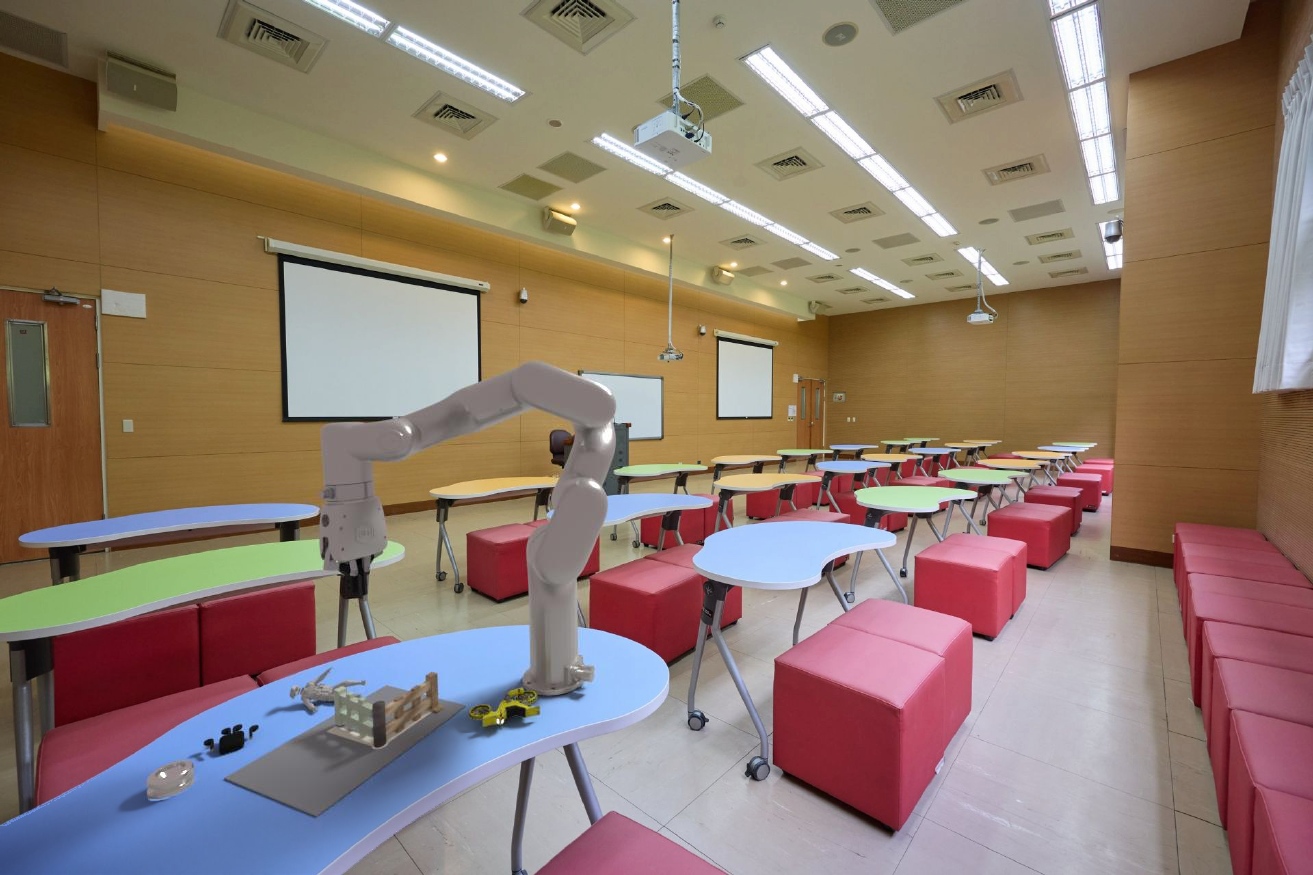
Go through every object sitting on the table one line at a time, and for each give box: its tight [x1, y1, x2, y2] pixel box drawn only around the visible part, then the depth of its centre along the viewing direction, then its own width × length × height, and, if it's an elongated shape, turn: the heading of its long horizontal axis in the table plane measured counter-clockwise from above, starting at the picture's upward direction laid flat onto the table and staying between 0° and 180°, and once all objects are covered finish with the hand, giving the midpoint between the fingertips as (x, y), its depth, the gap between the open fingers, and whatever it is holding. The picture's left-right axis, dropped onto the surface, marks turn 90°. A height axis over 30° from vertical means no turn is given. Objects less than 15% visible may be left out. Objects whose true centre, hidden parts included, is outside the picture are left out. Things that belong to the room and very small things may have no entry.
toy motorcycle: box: [468, 686, 541, 731], centre depth 91 cm, size 12×4×7 cm
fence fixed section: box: [372, 671, 444, 748], centre depth 89 cm, size 13×4×7 cm, turn 158°
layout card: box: [223, 684, 467, 818], centre depth 86 cm, size 20×28×1 cm
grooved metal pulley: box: [146, 759, 196, 799], centre depth 75 cm, size 5×3×5 cm
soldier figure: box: [289, 667, 367, 713], centre depth 97 cm, size 8×5×12 cm
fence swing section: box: [333, 686, 373, 736], centre depth 87 cm, size 10×1×6 cm, turn 60°
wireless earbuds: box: [203, 723, 260, 755], centre depth 85 cm, size 7×2×5 cm
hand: (357, 595), depth 92 cm, fingers closed
